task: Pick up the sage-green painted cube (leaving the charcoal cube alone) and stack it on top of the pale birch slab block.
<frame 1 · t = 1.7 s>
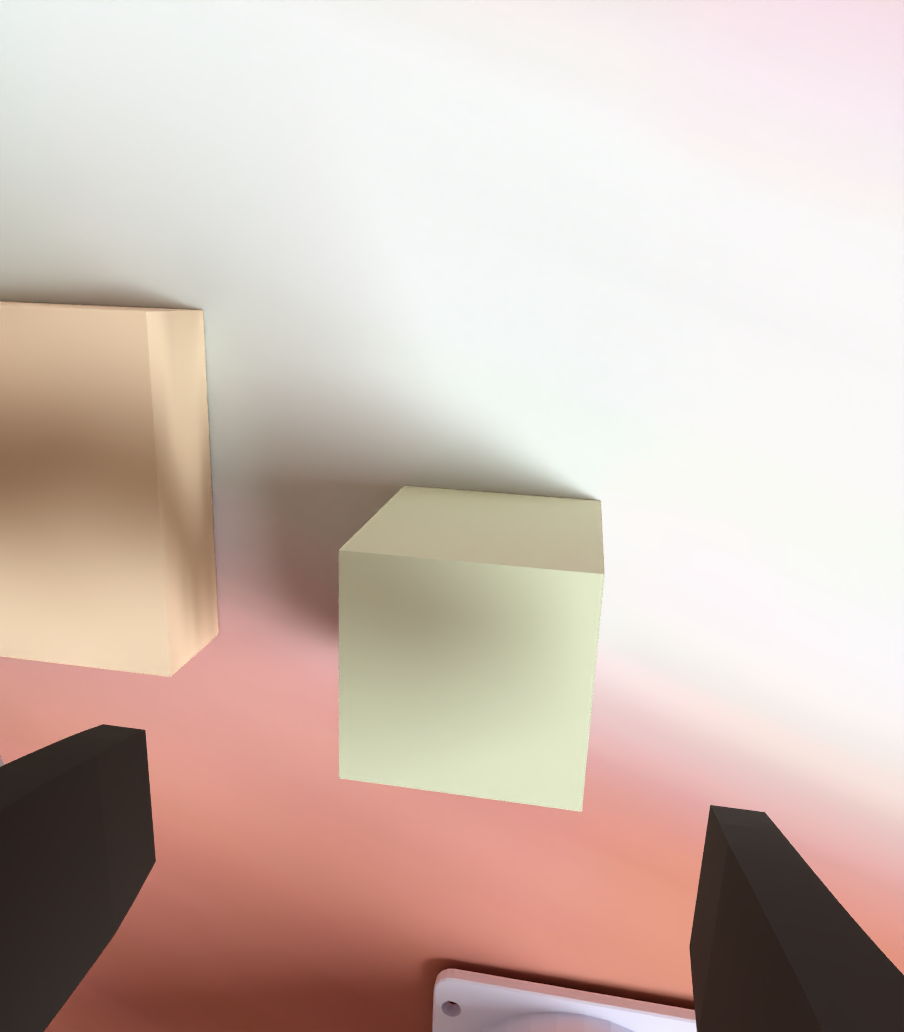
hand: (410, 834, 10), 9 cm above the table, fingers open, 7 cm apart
sage cube: (495, 584, 18), on the table
birch slab: (61, 469, 19), on the table
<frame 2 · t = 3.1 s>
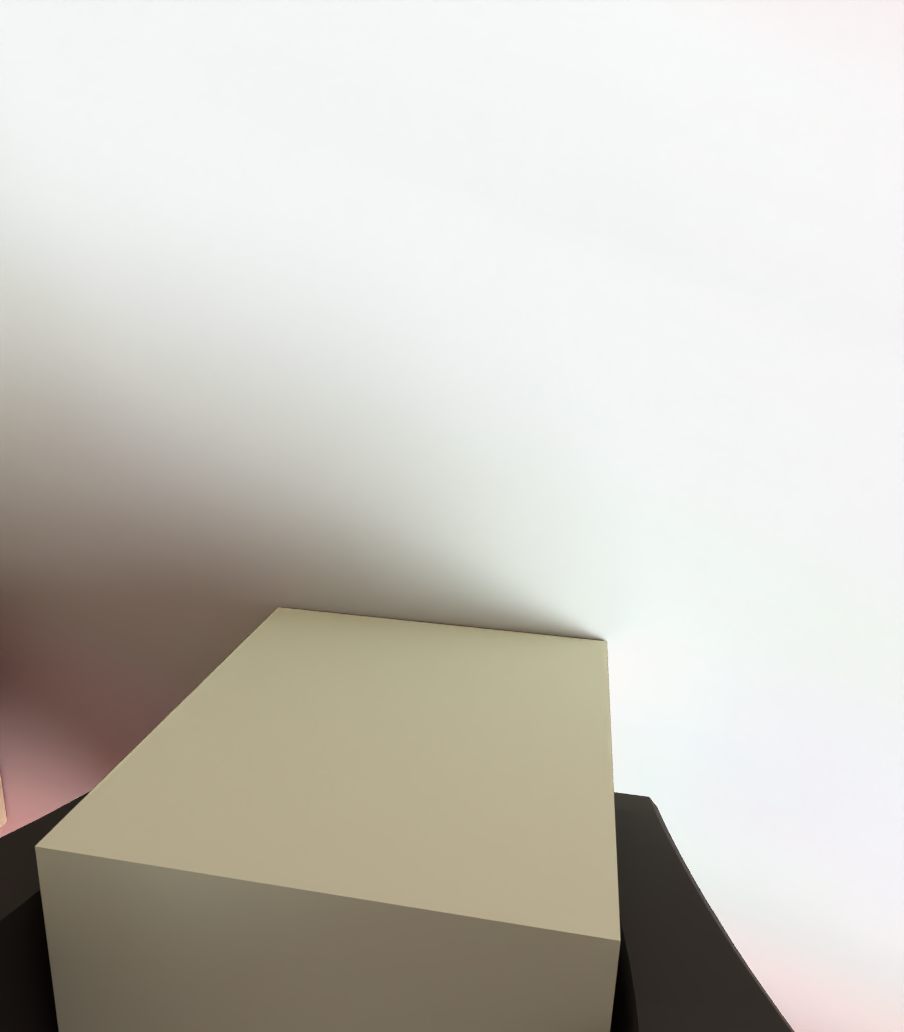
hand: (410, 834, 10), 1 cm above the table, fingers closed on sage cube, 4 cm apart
sage cube: (432, 769, 11), on the table, touching gripper
when the fingers open (5 cm above the table, at t = 5.6 s): sage cube stays where it is, resting on birch slab.
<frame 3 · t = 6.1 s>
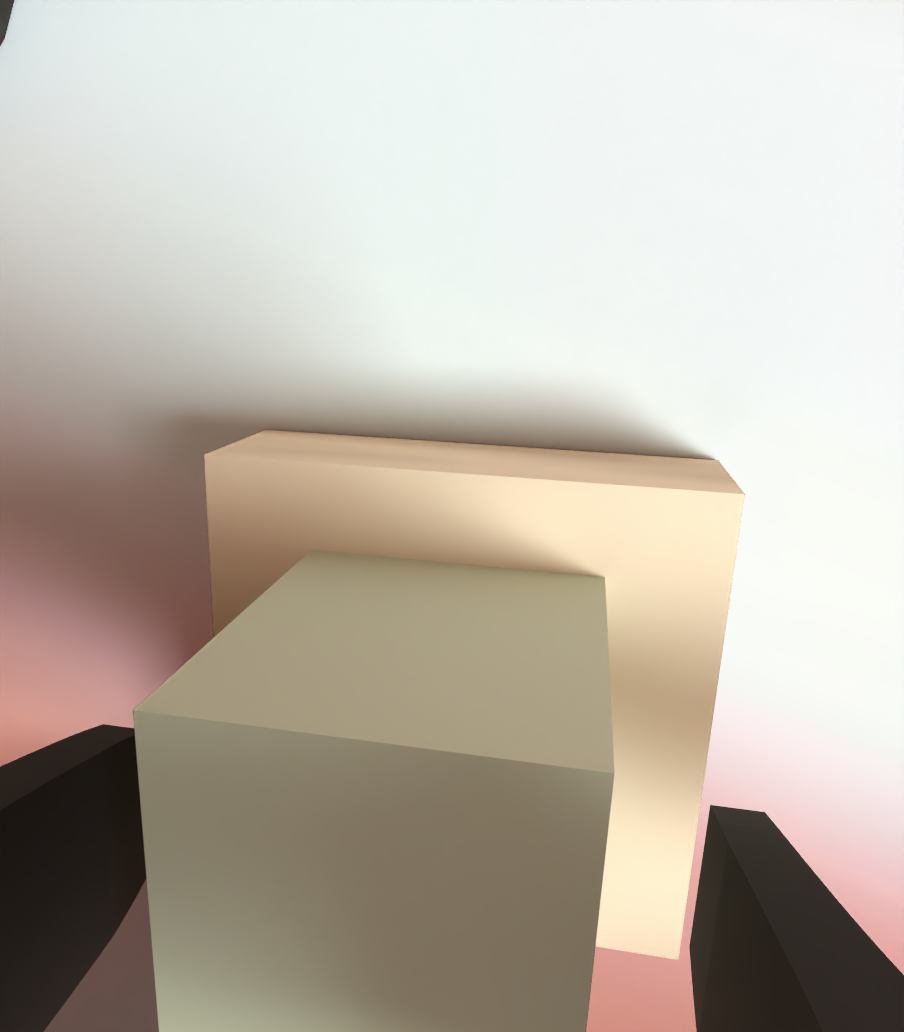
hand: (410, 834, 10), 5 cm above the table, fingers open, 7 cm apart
sage cube: (448, 696, 12), point 2 cm above the table, touching birch slab
birch slab: (471, 652, 15), on the table
charcoal cube: (219, 925, 18), on the table
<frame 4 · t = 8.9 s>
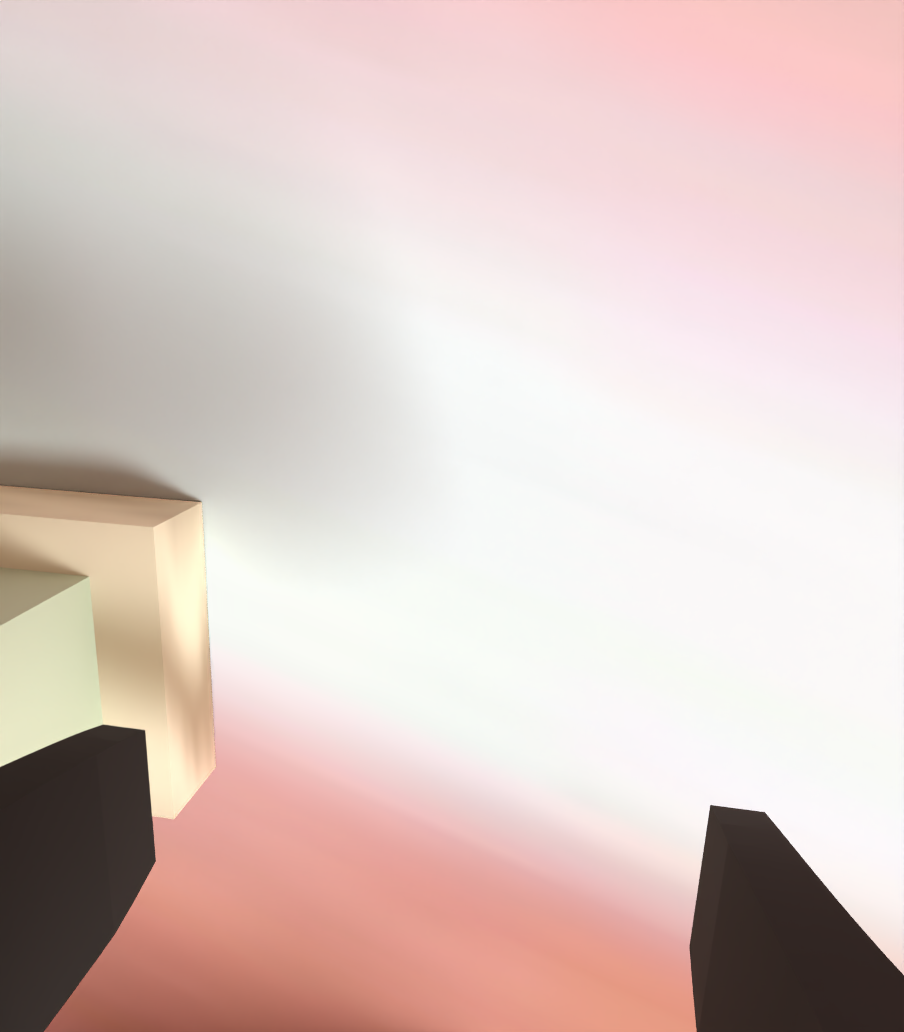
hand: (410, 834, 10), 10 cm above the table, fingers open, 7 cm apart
sage cube: (16, 651, 20), point 2 cm above the table, touching birch slab
birch slab: (77, 626, 22), on the table
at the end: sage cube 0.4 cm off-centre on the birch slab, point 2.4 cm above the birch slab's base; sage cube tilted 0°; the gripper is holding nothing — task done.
